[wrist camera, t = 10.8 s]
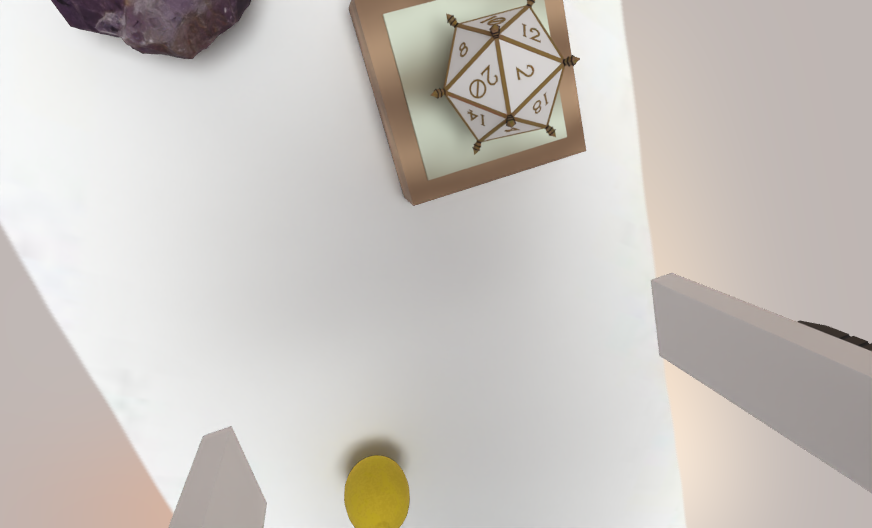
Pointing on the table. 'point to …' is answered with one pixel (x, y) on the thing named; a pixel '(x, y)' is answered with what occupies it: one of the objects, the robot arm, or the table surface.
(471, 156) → the framed mirror
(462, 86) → the game die
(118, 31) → the rock
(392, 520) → the lemon
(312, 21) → the table surface
